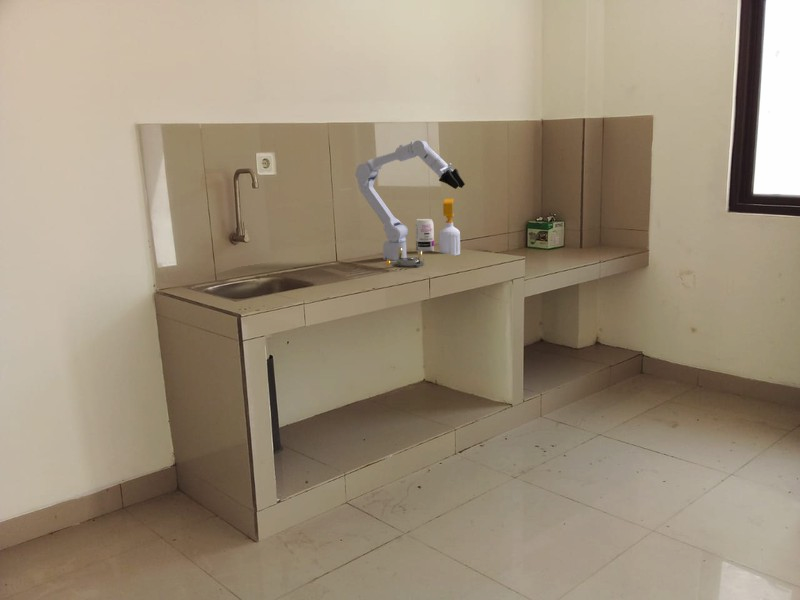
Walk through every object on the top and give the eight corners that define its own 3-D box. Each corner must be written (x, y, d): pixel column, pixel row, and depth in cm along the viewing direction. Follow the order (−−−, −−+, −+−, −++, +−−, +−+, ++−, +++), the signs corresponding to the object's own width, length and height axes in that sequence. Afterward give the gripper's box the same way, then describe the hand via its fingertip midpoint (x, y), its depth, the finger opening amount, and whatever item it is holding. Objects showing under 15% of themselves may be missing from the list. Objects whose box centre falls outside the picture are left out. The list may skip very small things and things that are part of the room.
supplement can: (425, 250, 314) (424, 218, 311) (437, 252, 308) (437, 219, 304) (412, 252, 309) (411, 219, 306) (424, 254, 303) (423, 221, 299)
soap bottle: (461, 253, 303) (461, 197, 298) (457, 256, 295) (457, 199, 289) (442, 253, 306) (441, 198, 300) (437, 256, 297) (436, 199, 291)
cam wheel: (375, 265, 271) (374, 250, 270) (410, 260, 280) (410, 246, 279) (397, 271, 259) (396, 255, 257) (433, 265, 268) (432, 250, 266)
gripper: (436, 155, 262) (461, 179, 260) (448, 155, 275) (472, 178, 273) (425, 169, 264) (449, 193, 263) (437, 168, 277) (460, 191, 276)
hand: (460, 186), depth 268 cm, fingers open, 7 cm apart
